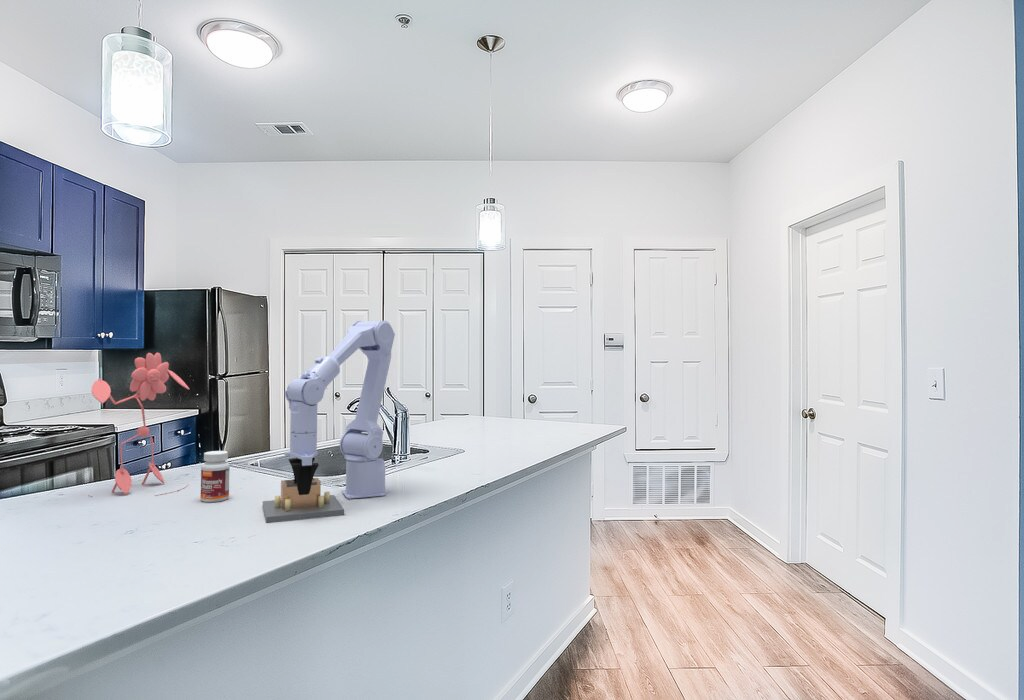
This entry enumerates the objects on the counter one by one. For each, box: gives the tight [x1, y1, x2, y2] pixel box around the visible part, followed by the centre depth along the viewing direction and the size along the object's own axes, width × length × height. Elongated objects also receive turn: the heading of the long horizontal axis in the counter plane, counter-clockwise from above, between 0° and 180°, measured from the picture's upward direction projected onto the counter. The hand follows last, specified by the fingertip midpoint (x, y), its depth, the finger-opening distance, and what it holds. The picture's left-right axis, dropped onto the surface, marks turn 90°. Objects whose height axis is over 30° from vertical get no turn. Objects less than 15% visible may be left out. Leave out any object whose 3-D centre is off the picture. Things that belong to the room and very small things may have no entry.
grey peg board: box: [262, 491, 345, 524], centre depth 135 cm, size 16×14×4 cm
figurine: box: [88, 352, 190, 498], centre depth 152 cm, size 15×26×35 cm, turn 167°
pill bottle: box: [200, 450, 231, 503], centre depth 144 cm, size 6×6×11 cm
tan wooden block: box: [280, 477, 322, 510], centre depth 135 cm, size 8×5×6 cm, turn 116°
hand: (302, 491), depth 135 cm, fingers closed on tan wooden block, 4 cm apart
